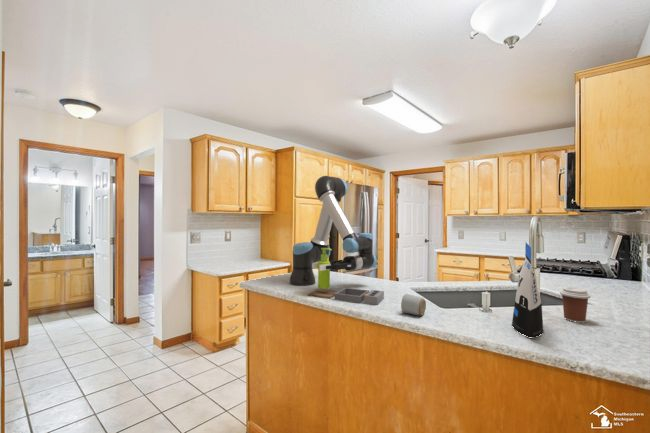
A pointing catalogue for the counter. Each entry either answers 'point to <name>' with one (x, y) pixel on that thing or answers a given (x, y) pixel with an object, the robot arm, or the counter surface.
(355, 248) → the robot arm
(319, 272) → the soap dispenser
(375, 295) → the tray
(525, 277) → the protein powder
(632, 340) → the counter surface
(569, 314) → the coffee cup
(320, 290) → the walnut pad
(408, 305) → the ceramic mug
